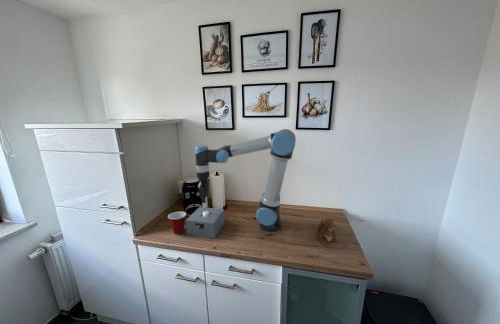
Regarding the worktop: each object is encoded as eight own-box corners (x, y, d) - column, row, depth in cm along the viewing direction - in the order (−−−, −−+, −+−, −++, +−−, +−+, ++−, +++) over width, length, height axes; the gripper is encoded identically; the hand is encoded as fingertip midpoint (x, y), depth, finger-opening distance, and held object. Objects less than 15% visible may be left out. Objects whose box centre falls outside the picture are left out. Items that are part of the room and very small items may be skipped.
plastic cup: (190, 226, 132) (188, 210, 129) (184, 236, 122) (182, 219, 119) (174, 226, 133) (172, 210, 130) (166, 236, 122) (164, 218, 120)
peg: (211, 226, 132) (210, 211, 130) (208, 230, 128) (207, 214, 126) (205, 225, 133) (204, 210, 131) (202, 229, 129) (201, 214, 127)
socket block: (224, 222, 137) (224, 209, 134) (214, 238, 120) (213, 223, 117) (200, 219, 141) (199, 206, 138) (187, 234, 124) (185, 220, 121)
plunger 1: (207, 222, 125) (207, 219, 125) (200, 230, 117) (200, 227, 116) (200, 222, 126) (200, 218, 126) (193, 230, 118) (193, 226, 117)
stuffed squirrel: (323, 246, 112) (325, 225, 109) (311, 232, 125) (312, 213, 122) (339, 243, 114) (342, 223, 111) (325, 230, 127) (327, 211, 124)
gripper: (202, 167, 128) (204, 201, 134) (191, 173, 116) (194, 210, 121) (213, 168, 126) (214, 203, 132) (203, 174, 114) (206, 212, 120)
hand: (205, 206), depth 127 cm, fingers closed
